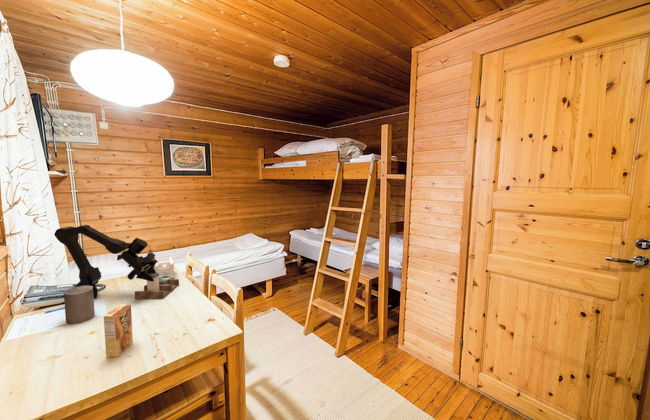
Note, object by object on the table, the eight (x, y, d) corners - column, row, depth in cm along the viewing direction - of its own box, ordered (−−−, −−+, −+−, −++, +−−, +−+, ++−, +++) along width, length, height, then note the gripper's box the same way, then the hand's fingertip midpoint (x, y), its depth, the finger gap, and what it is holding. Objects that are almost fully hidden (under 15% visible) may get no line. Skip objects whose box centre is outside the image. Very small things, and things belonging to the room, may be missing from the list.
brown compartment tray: (134, 299, 140) (134, 290, 139) (154, 286, 158) (154, 277, 158) (162, 299, 141) (162, 289, 140) (179, 285, 159) (178, 277, 159)
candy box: (122, 342, 103) (119, 304, 101) (133, 342, 103) (131, 304, 102) (105, 357, 94) (102, 316, 92) (118, 357, 94) (115, 315, 93)
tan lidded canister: (155, 293, 143) (154, 275, 142) (147, 293, 143) (146, 275, 142) (159, 290, 147) (158, 273, 146) (151, 290, 147) (150, 273, 146)
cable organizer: (155, 275, 176) (154, 258, 175) (173, 272, 182) (172, 256, 181) (155, 282, 163) (154, 264, 162) (175, 279, 169) (174, 261, 168)
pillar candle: (62, 320, 118) (58, 288, 116) (89, 311, 127) (86, 281, 125) (71, 326, 114) (68, 293, 112) (99, 316, 122) (97, 285, 120)
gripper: (132, 253, 133) (156, 275, 135) (153, 245, 152) (174, 263, 153) (116, 269, 133) (141, 290, 135) (139, 258, 152) (160, 277, 154)
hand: (155, 279), depth 144 cm, fingers closed on tan lidded canister, 4 cm apart
